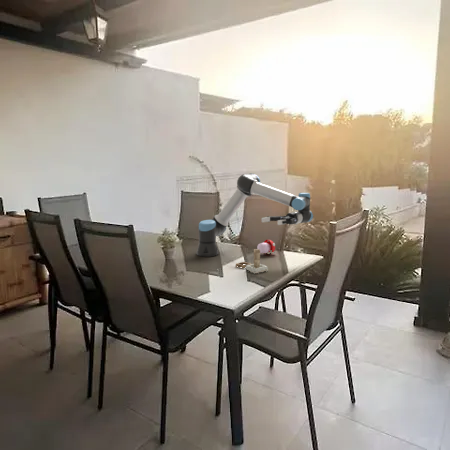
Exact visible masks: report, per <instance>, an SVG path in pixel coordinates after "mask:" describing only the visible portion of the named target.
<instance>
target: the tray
mask: <svg viewBox="0 0 450 450" xmlns="http://www.w3.org/2000/svg"><path fill="white" fill-rule="evenodd" d="M268 268H269V267H268V266H267V265H265V264H261V263H260V267H259V268H254V263H251V265H247V266H246V269H247V270H251V271H254V272H258V271H261V270H265V269H267V270H268ZM246 269H245V270H246Z"/></svg>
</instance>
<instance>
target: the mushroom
mask: <svg viewBox="0 0 450 450" xmlns="http://www.w3.org/2000/svg"><path fill="white" fill-rule="evenodd" d="M256 249H260V254H261V253H267V252H270V250H272V252H274V251H275V250H276V244H275V242H274V241H273V240H271V239H264V242H260V243H258V244H257V247H256ZM275 252H276V251H275Z"/></svg>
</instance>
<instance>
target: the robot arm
mask: <svg viewBox="0 0 450 450" xmlns="http://www.w3.org/2000/svg"><path fill="white" fill-rule="evenodd" d="M253 194H255V195H258V196H259V197H260V196H261V197H263V198H266V199H268V200H271V201H274V202H277V203H280V204H283V205H285V206H288V207H290V208H292V209H294V210H295V211H294V212H288V213H287V214H286V215H275V216H274V215H273V216H269V215H268V216H265V217H261V223H270V222H276V223H277V226H281V225H283V226H284V225H290V226H292V225H298V224H304V223H306V224H307V223H310V222H311V221H312V220H313V219H314V214H313V212H312V211H311V193H309V192H299V193H298V195H294V194H292V193H290V192H289V193H288V191H287V192H286V191H283V190H281V189H278V188H275V187H272V186H270V185H267V184H264V183H261V179H260V177H259V176H258V175H257V174H255V173H243V174H241V175H239V177H238V178H237V180H236V190H235V192H234V193H233V194H232V196H231V197H230V199H228V201H227V203H226V204H225V205H224V207H222V209H221V210H220V212H219V213H218V214H215V215H214V216H213V217H212V219H205V220H200V222H199V223H198V246H197V248H196V249H197V250H196V256H198V257H216V256H218V255H219V249H218V247H217V243H216V241H217V240H216V239H217V237H218V236H221V235H223V234H224V233H225V232H226V230H227V227H228V226H229V221H230V220H231V218H232V217H233V216H234V215H235V213H236V212H237V210H238V209H239V208H240V207H241V206H242V204H243V203H244V201H245V200H246V199H247V198H248V197H251V196H252V195H253ZM217 254H218V255H217ZM215 255H216V256H215Z"/></svg>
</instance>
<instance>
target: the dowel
mask: <svg viewBox="0 0 450 450" xmlns="http://www.w3.org/2000/svg"><path fill="white" fill-rule="evenodd" d="M253 264H254V268H259V267H260V264H261V253H260V249H257V248H254V249H253Z"/></svg>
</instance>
